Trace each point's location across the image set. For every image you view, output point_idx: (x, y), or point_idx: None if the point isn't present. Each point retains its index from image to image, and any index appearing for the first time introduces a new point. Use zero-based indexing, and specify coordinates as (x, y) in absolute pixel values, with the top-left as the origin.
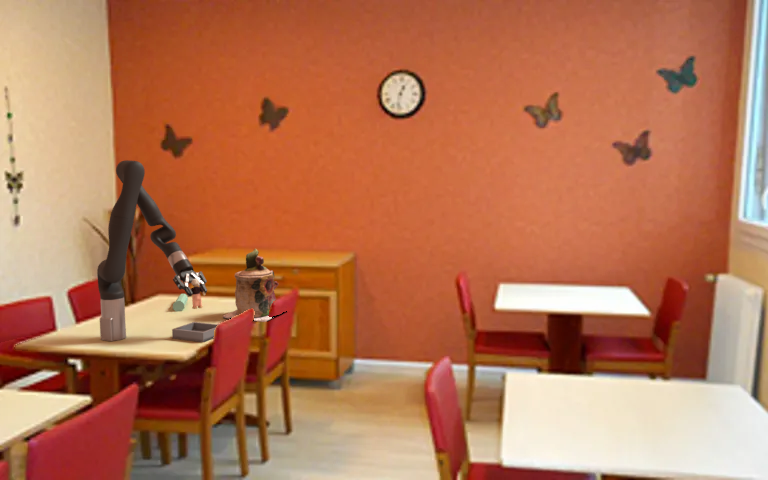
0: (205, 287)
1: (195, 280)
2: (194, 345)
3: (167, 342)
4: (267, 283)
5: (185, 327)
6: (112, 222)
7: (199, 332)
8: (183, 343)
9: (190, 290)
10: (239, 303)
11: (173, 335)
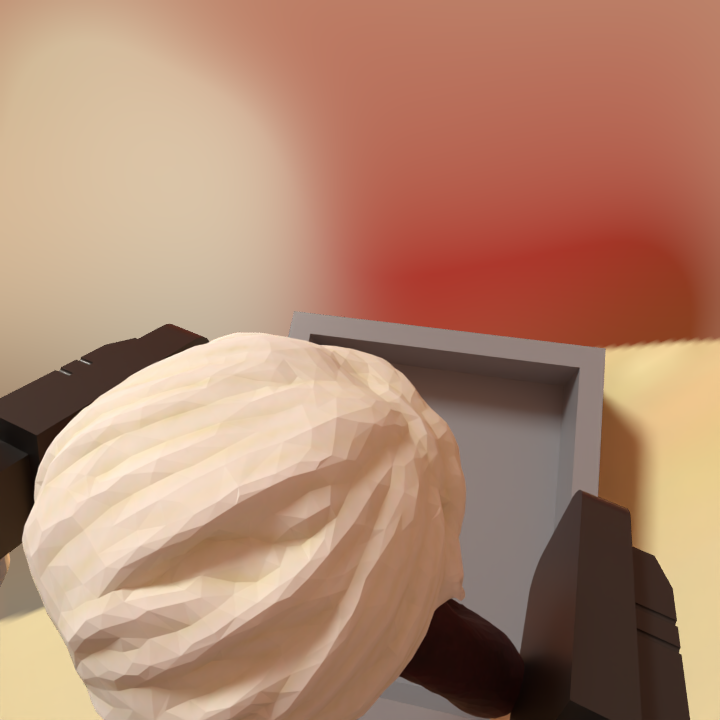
0: (61, 375)
1: (348, 439)
2: (693, 397)
3: (706, 709)
4: None
5: (387, 693)
6: None
7: (602, 390)
8: (675, 525)
9: (601, 568)
10: None
11: None
